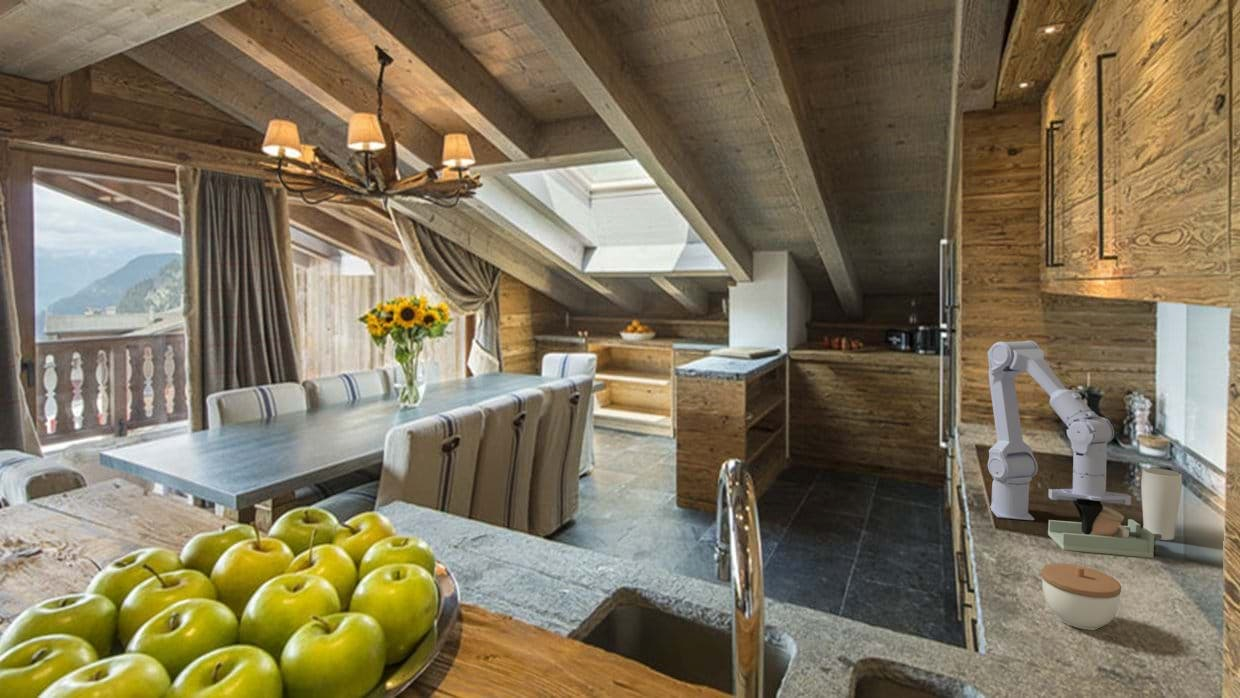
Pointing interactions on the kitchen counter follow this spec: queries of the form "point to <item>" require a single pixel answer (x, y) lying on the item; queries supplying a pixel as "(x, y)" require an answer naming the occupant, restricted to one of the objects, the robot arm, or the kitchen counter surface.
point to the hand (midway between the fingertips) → (1088, 533)
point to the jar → (1106, 522)
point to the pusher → (1131, 533)
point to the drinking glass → (1160, 501)
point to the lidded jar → (1080, 595)
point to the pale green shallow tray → (1102, 540)
